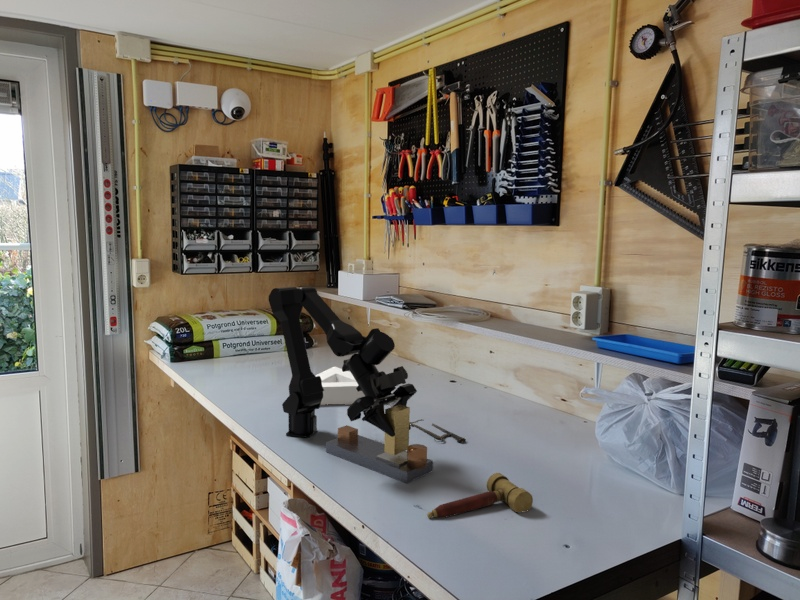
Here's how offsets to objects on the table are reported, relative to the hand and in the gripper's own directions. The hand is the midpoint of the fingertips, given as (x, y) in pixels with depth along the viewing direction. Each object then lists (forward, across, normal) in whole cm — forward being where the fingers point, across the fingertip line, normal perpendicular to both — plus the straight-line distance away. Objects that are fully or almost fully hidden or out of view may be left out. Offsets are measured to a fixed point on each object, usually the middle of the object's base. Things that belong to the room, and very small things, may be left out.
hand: (401, 432), depth 136 cm
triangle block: (-27, +31, +41) cm, 59 cm away
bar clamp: (-1, +24, +15) cm, 28 cm away
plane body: (+1, 0, +11) cm, 11 cm away
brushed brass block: (+2, 0, +4) cm, 5 cm away
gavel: (+23, -4, -10) cm, 25 cm away
